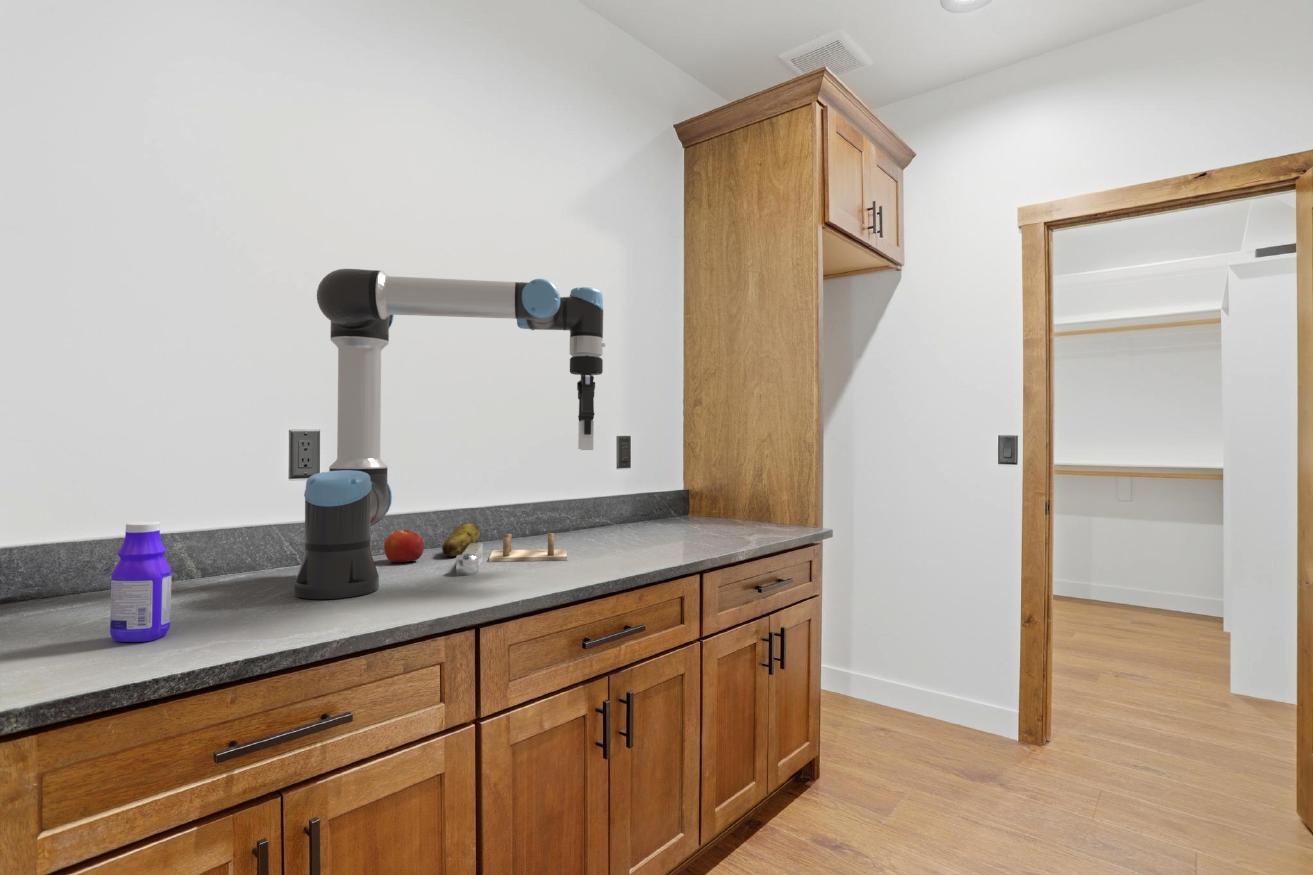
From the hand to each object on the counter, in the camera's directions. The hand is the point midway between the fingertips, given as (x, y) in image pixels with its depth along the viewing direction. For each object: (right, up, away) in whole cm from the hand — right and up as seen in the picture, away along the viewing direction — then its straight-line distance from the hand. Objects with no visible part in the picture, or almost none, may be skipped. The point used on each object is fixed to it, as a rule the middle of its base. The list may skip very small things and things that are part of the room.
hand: (585, 449), depth 152 cm
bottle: (-61, -28, -52) cm, 85 cm away
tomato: (-46, -28, +11) cm, 55 cm away
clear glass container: (-28, -28, +5) cm, 39 cm away
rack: (-16, -28, +18) cm, 37 cm away
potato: (-35, -28, +21) cm, 50 cm away
